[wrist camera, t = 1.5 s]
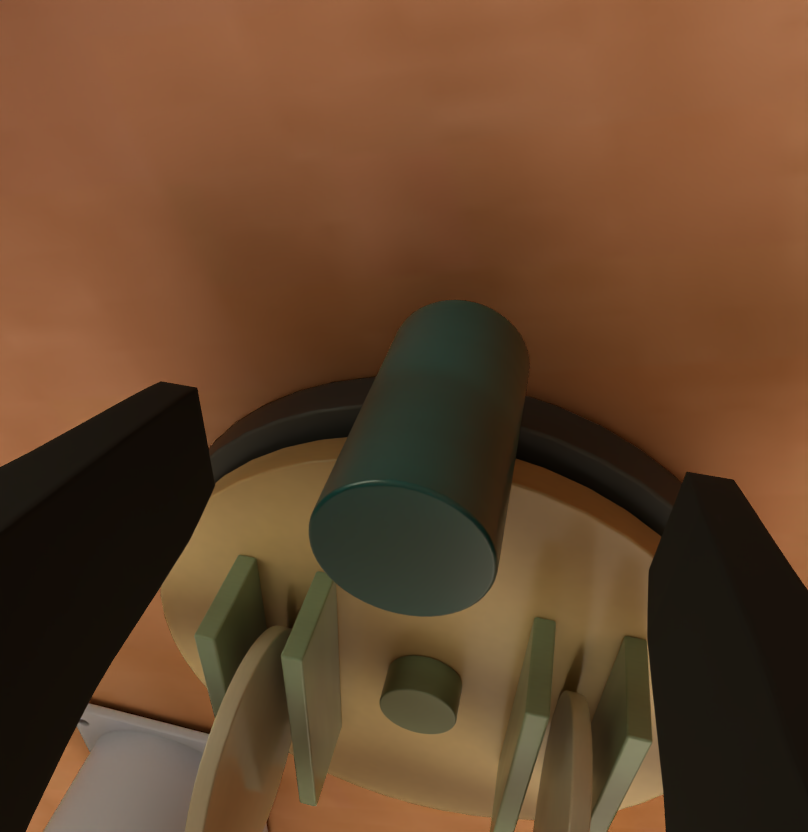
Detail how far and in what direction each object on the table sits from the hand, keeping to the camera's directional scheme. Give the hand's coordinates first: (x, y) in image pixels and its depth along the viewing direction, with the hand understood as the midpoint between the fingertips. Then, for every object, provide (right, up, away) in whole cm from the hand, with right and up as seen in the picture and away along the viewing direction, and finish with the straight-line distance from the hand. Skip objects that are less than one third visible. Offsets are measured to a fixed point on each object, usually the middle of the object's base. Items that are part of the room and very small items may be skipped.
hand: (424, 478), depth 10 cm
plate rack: (0, -4, +7) cm, 9 cm away
